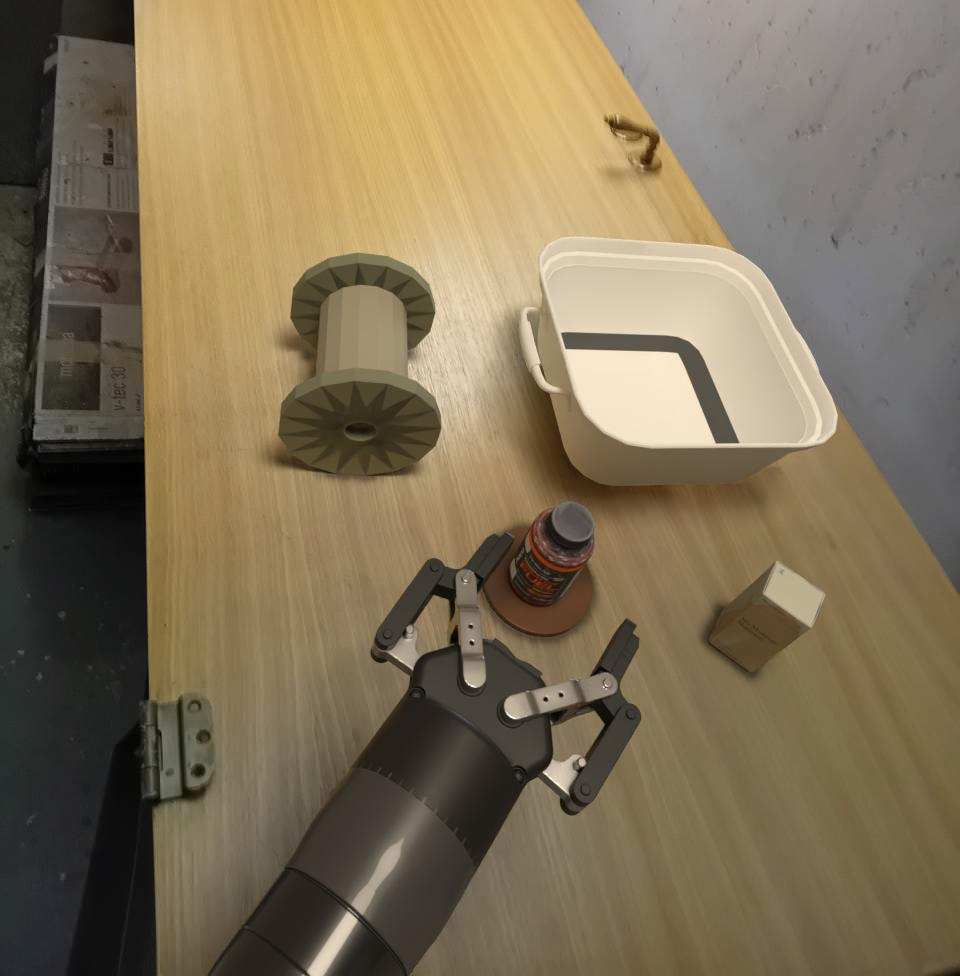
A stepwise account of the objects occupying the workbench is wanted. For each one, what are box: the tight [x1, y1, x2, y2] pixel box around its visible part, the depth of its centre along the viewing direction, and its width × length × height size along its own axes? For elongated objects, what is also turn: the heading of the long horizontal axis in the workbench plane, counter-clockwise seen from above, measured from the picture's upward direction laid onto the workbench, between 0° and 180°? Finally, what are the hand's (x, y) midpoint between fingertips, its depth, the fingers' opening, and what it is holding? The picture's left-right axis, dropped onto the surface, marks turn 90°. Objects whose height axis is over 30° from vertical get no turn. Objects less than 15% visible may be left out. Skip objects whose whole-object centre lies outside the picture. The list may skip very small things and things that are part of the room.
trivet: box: [482, 526, 594, 637], centre depth 82 cm, size 11×11×1 cm
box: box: [708, 560, 826, 674], centre depth 79 cm, size 5×4×11 cm
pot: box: [517, 235, 839, 487], centre depth 94 cm, size 34×29×15 cm
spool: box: [277, 252, 443, 477], centre depth 85 cm, size 16×15×15 cm
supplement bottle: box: [509, 500, 596, 605], centre depth 77 cm, size 6×6×11 cm
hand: (566, 582), depth 51 cm, fingers open, 8 cm apart
